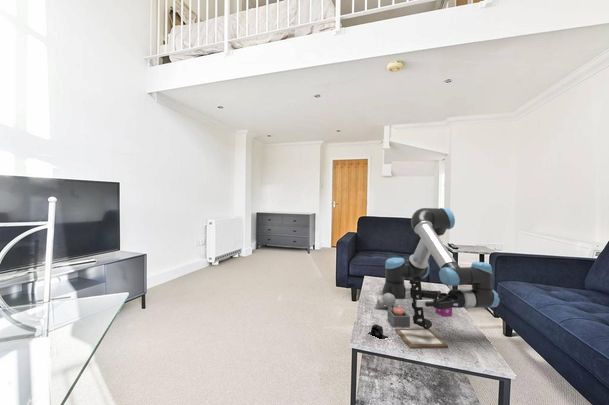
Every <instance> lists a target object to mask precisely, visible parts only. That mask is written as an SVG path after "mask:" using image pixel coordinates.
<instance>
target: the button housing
mask: <svg viewBox="0 0 609 405" xmlns="http://www.w3.org/2000/svg"><path fill="white" fill-rule="evenodd" d="M387 321H388V322H389V324H390V325H391V326H392V327H393V328H411V316H410V315H409V314H408V313H407V312H406V311H405V310H404V316H395V315H394V314H393V309H392V310H388V309H387Z"/></svg>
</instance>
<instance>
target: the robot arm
mask: <svg viewBox="0 0 609 405" xmlns="http://www.w3.org/2000/svg"><path fill="white" fill-rule="evenodd" d="M455 220H456V219H455V215H454V213H453V212H452V210H451V209H449V208H443V207H440V208H438V207H437V208H436V207H434V208H433V207H422V208H419V209H417V210H416V211H415V212H414V213H413V214H412V215H411V219H410V223H411V225H410V226H411V228H412V230H413V231H414V233H415V234H416V235H418V236H419V237H420V239H419V242H418V244H417V245H416V248H415V250H414V252H413V254H411V255H410V256H409V258H408V259H405V258H404V257H390V258H387V259H386V260H385V266H384V268H385V273H384V274H385V277H384V280H385V281H384V283H383V284H384V285H383V288H382V292H381V294H382V296H383V295H384V294H386V293H391V294H393V295H394V296H395V300H396V299H398V300H399V299H412V298H411V294H410V291H407V288H406V286H405V280H406V279H409V280H410V278H412V277H415V276H420V278H421V279H425V278H426V277H428V276H429V273H430V265H429V262H428V260H429V258H430V256H431V257H432V258H433V260H434V261H435V263H436V264H437V266H438V268H439V269H440V270H439V271H438V277H439V280H440V282H441V283H442V284H443V285H444V286H452V287H453V286H454V287H457V286H471V289H450V290H449V291H448V292H447V293H446V292H442V291H441V290H427V289H421V290H422V300H417V307H423V308H435V309H436V308H437V309H447V308H452V309H454V308H456V309H457V308H458V309H463V308H465V309H470V308H474V309H475V308H484V309H488V308H496V307H498V306H499V304H500V297H499V294H498V293H497V291H496V290H494V289H493V268H492V265H491V264H490V263H488V262H484V261H483V262H482V261H473V262H471V266H470V267H469V266H468V267H466V266H465V267H461V266H460V265H459V263H458V262H457V261H456V260H455V259H454V257H453V255H452V254H451V253H450V251H449V250H448V248H447V246H446V244H444V243H443V241H442V239H441V238H440V237H441V236H444V235H445V233H446V231H447V230H451V229H453V228H454V227H455V223H456V221H455ZM416 297H417V298H419V295H418V296H416ZM423 298H424V299H423ZM440 306H441V307H440Z"/></svg>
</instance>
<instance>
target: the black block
mask: <svg viewBox="0 0 609 405" xmlns="http://www.w3.org/2000/svg"><path fill="white" fill-rule="evenodd" d="M370 330H371V332H369V333H368V334H370V335H372V336H375V337H377V338H379V339H385V338H388V337H389V336H388V335H386V334H384V329H383V326H382V325H379V324H376V323H375V324H373V325H372V326H371V327H370ZM385 335H386V336H385ZM372 336H371V337H372ZM388 339H389V338H388Z"/></svg>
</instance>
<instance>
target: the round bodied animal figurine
mask: <svg viewBox="0 0 609 405" xmlns="http://www.w3.org/2000/svg"><path fill="white" fill-rule="evenodd" d="M374 305H375V308H377V309H382V307H384V306H386V308H387V311H388V310H393V308H394V307H399V305H398V304H397V302H396V299H395V296H394V295H393V294H391V293H386V294H384V295H383V294H382V298H378V297H377V301H376V303H374Z"/></svg>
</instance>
